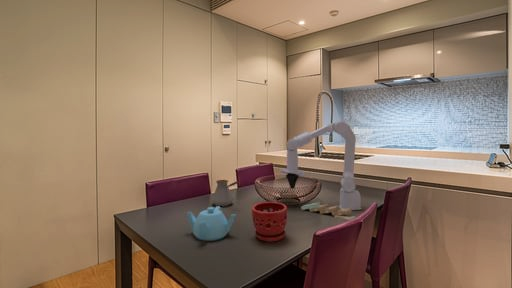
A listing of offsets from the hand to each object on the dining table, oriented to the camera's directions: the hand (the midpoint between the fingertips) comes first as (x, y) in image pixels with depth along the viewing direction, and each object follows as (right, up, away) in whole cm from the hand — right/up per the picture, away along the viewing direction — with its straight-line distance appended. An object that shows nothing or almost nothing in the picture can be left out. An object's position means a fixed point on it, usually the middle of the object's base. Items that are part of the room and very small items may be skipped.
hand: (292, 188), depth 147 cm
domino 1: (+9, -9, -8) cm, 15 cm away
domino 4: (+18, -10, -17) cm, 27 cm away
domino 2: (+13, -9, -11) cm, 19 cm away
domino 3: (+17, -9, -15) cm, 24 cm away
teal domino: (+5, -9, -5) cm, 11 cm away
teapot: (-36, -13, -37) cm, 54 cm away
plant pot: (-14, -13, -40) cm, 44 cm away
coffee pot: (-34, -10, +1) cm, 35 cm away
